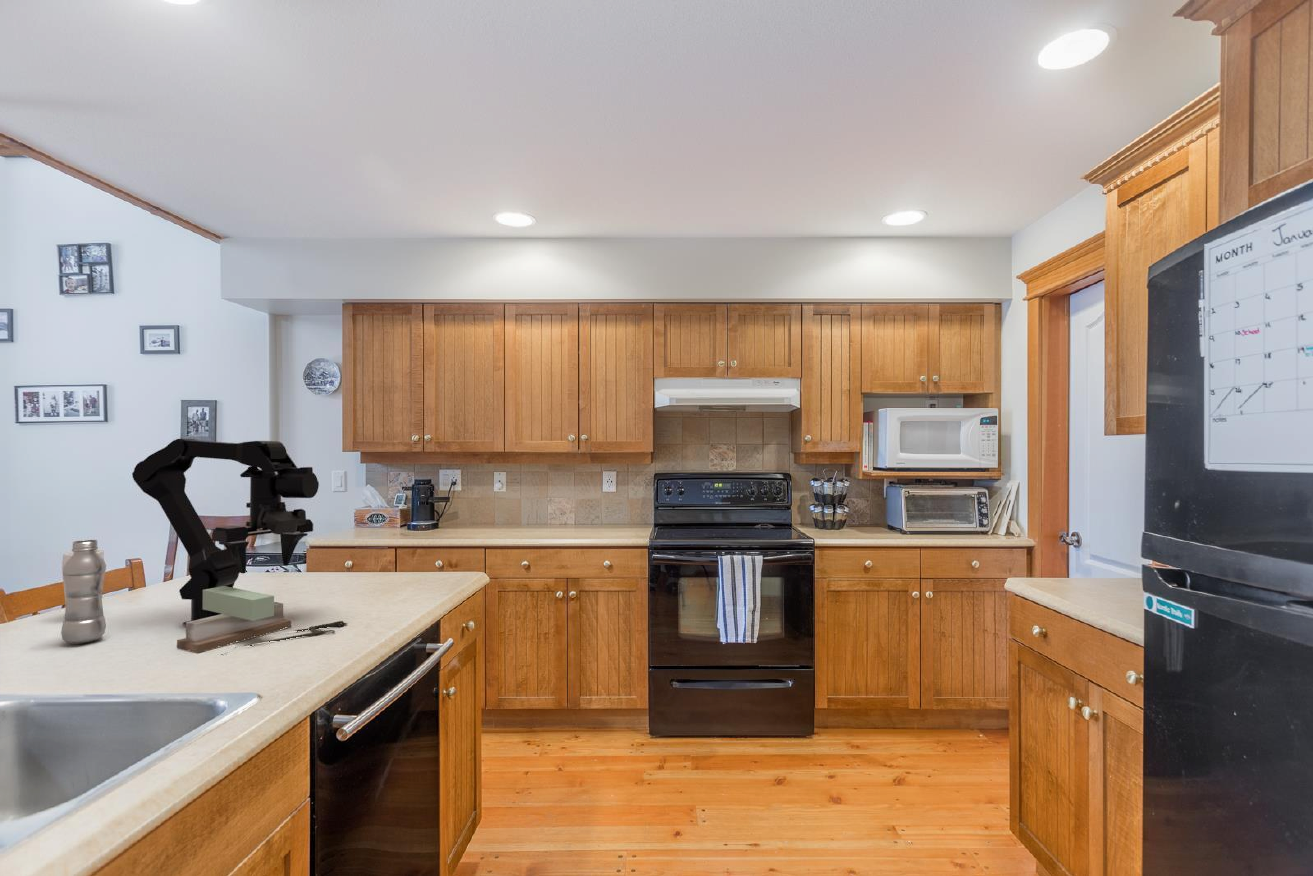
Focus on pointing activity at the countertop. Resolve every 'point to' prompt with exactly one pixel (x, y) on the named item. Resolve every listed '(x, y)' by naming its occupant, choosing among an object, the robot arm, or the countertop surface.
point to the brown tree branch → (314, 631)
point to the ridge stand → (229, 630)
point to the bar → (238, 603)
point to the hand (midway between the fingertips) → (265, 569)
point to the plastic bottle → (83, 594)
